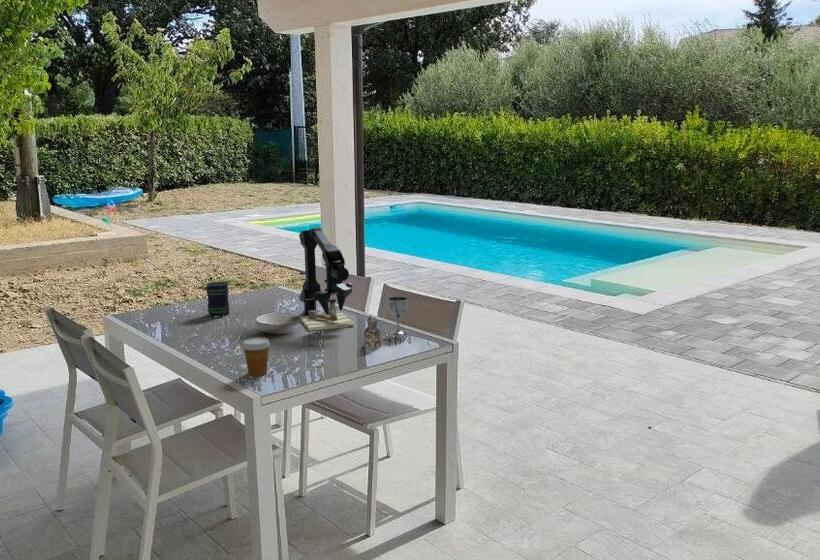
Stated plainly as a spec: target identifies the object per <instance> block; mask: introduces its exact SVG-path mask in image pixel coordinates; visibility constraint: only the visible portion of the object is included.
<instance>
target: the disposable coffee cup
mask: <svg viewBox="0 0 820 560" xmlns="http://www.w3.org/2000/svg"><path fill="white" fill-rule="evenodd" d="M270 345H271V343H270V342H269V339H268V338H266V337H251V338H250V337H249V338H247V339H245V340H244V341H243V343H242V348H243V349H244V356H245V362H246V367H247V372H248V375H249V376H252V377H261V376H263V375H266V374H267V371H268V358H269V347H270Z"/></svg>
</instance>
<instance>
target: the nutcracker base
mask: <svg viewBox="0 0 820 560" xmlns="http://www.w3.org/2000/svg"><path fill="white" fill-rule="evenodd" d="M325 314H326V313H325ZM326 315H330V306H329V308H328V314H326ZM335 316H336V317H337V321H329V320H325V319H320V318H309V315H305V316H300V317H299V319H301V320H300V322H301V323H302V324H303V325H304V326H305V328H306V329H307V331H321V330H329V329H330V330H331V329H340V328H341V329H342V328H350V327H349V326H354V327H355V323H354V322H353V320H351V319H350V318H349V317H348V316H347V315H345V313H344V312H341V313H337V308H336V307H335Z"/></svg>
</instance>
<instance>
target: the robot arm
mask: <svg viewBox="0 0 820 560" xmlns="http://www.w3.org/2000/svg"><path fill="white" fill-rule="evenodd" d="M298 237H299V240H300V241H299V242H300V245H301V246H302V248H303V250H304V270H305V271H304V274H305V280H304V282H303V284H302V288H301V289H302V290H301V292H300V294H299V296H298V298H299V302H302V303H303V308H304V309H303V311H302V313H303V315H305V316H309V311H317V313H319V312H318V310H317V301H318V303H319V304H320V305H321V307H322V309H323V311H324V314H328V308H329V307H330V303H329V302H330V298H331V297H332V296H336V301H337V304H338V310H339V311H342V310H343V309H344V305H345V301H346V299H347V298H348V297H349V296H350V295H351V294H353V292H352V291H353V283H350V282H348V283H343V282H345V281H347V280H348V279H349V276H350V273H349V270H348V269H347V268H345V265H346V263H345V262H346V260H345V258H344V255H343V254H342V251H341V250H340V249H339V247H337V246H336V245H333V244H332V243H331V242H330V240H329V239H328V237H327V236H326V235H325V234H324V232H323V229H322V228H320V227H312V228H310V229H307V230H306V229H305V230H302V231H301V232H299V235H298ZM317 246H318V247H319V249H320V250H321V251H322V254H321V255H322V259H323V261H324V267H325V271H326V273H325V278H326V279H324V280H323V281H324V283H326V288H324V291H322V290H321V284H320V283H319V282H318V281H317V274H316V273H317V270H316V268H317V267H316V247H317Z"/></svg>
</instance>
